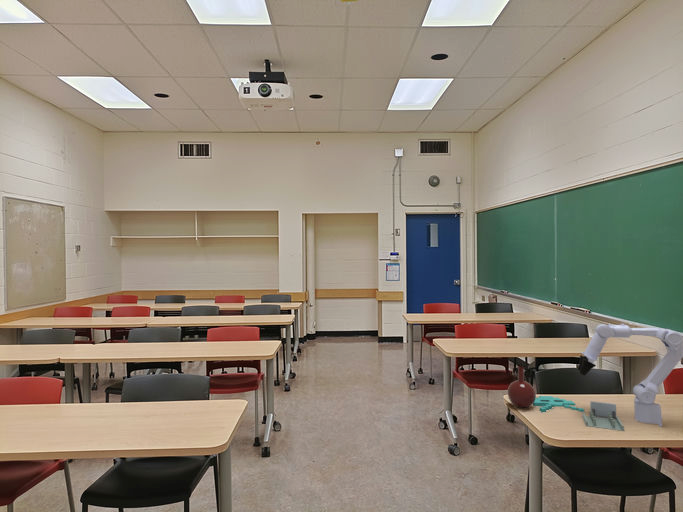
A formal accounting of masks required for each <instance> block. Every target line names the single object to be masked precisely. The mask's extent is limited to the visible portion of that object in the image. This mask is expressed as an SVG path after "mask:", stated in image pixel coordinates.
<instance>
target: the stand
mask: <svg viewBox="0 0 683 512" xmlns="http://www.w3.org/2000/svg"><path fill="white" fill-rule="evenodd" d="M592 412H593V414H594V416H595V417H598V418H606V419H608V417H605V416H597V415H595V409H592ZM612 412H613V417H612V418H613V419H614V420H616V416H617V413H616V414H615V411H612ZM588 413H589V415H590V411H588Z"/></svg>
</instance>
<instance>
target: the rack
mask: <svg viewBox="0 0 683 512" xmlns="http://www.w3.org/2000/svg"><path fill="white" fill-rule="evenodd" d="M589 412H590V414H589V416H588V415H586V413H585V412H581V413H582V414H581V415H582V416H581V417H582V419H583V422H584V425H585V427H590V428H595V429H596V428H597V429H603V430H604V429H605V430H613V431H617V432H619V431H621V432H625V425H624V424H623V423H622V421H621V419H620V418H619V416H618V415H616V420H615V419H613V418H612V416H611V414H610V413H608V419H607V418H599V417H595V416H594V414H593V412H592V411H590V410H589Z"/></svg>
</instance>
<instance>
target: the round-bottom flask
mask: <svg viewBox="0 0 683 512" xmlns="http://www.w3.org/2000/svg"><path fill="white" fill-rule="evenodd" d="M524 372H525V367H523V366H517V378H518V379H517V380H514V381H513V382H511V383H510V384H509V386H508V387H507V397H508V399H509V401H510V402H511V404H513V405H514V406H515V407H518V408H522V409H523V408H526V409H527V408H529V407H532V406H533V405H532V404H533V403H534V402H535V399H536V397H537V392H536V390H535V388H534V387H533V386H532V384H531V383H530V382H528V381H526V380H525V378H524V377H525V373H524Z"/></svg>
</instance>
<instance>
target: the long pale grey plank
mask: <svg viewBox="0 0 683 512" xmlns="http://www.w3.org/2000/svg"><path fill="white" fill-rule="evenodd" d="M589 403H590V405H589V406H590V409H589V412H590V411H592V409H595V415H597V416H605V417H608V413H610V414H611V416H612V417H613V412H612V411H615V414H616V415H617V404H616V403H610V402H601V401H595V400H594V401H592V400H590V401H589Z"/></svg>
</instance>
